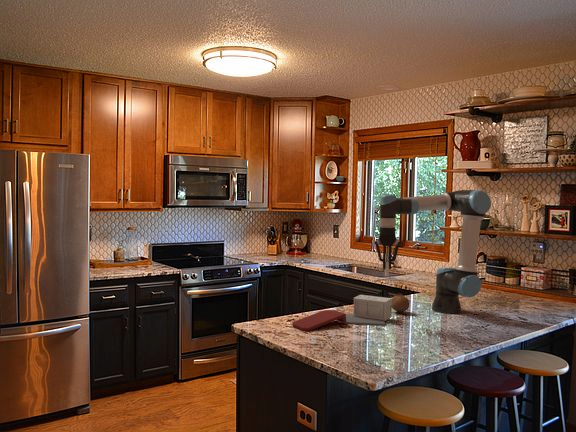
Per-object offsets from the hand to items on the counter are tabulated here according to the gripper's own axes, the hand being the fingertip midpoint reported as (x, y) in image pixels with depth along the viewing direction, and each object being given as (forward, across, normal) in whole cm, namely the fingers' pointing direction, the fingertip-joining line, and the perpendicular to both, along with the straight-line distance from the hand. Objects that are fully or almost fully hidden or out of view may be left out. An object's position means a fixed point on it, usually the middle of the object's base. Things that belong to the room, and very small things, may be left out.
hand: (386, 275), depth 251 cm
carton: (+21, -32, -13) cm, 40 cm away
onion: (+23, +9, +20) cm, 31 cm away
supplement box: (+17, +2, +1) cm, 17 cm away
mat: (+22, -11, 0) cm, 25 cm away
